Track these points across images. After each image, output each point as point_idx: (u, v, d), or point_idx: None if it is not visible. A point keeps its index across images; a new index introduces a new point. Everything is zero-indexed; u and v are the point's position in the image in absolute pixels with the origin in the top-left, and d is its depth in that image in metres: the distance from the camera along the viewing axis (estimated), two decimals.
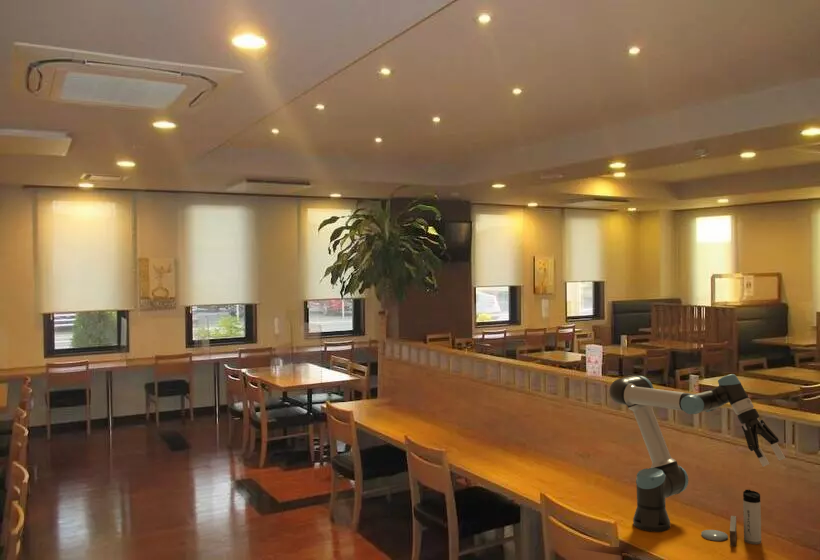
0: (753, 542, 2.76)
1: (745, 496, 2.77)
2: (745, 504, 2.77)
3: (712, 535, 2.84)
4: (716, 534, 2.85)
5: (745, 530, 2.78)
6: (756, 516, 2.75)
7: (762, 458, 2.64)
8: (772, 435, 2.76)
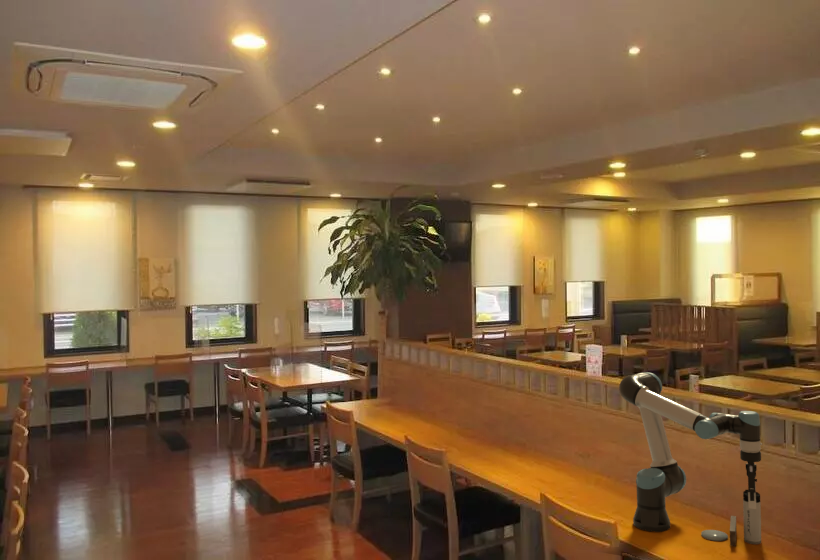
0: (753, 542, 2.76)
1: (745, 496, 2.77)
2: (745, 504, 2.77)
3: (712, 535, 2.84)
4: (716, 534, 2.85)
5: (745, 530, 2.78)
6: (756, 516, 2.75)
7: (752, 501, 2.72)
8: None
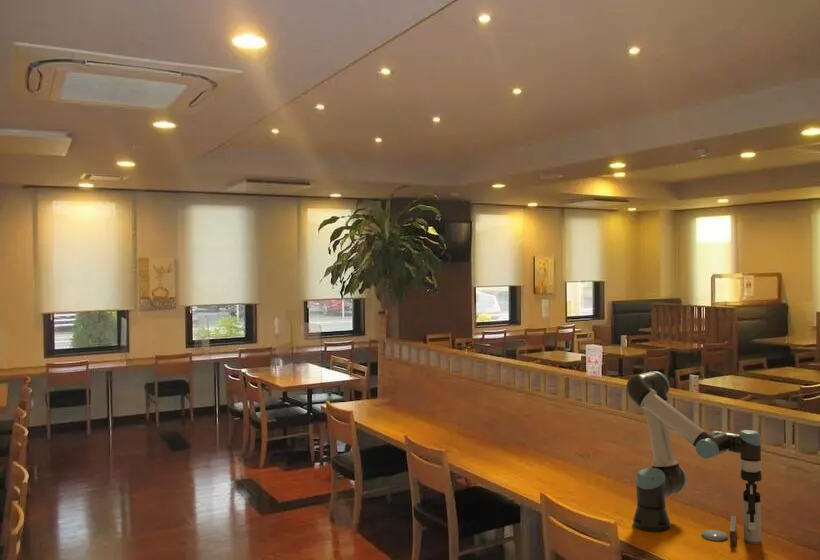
0: (753, 542, 2.76)
1: (745, 496, 2.77)
2: (745, 504, 2.77)
3: (712, 535, 2.84)
4: (716, 534, 2.85)
5: (745, 530, 2.78)
6: (756, 516, 2.75)
7: (752, 523, 2.75)
8: None
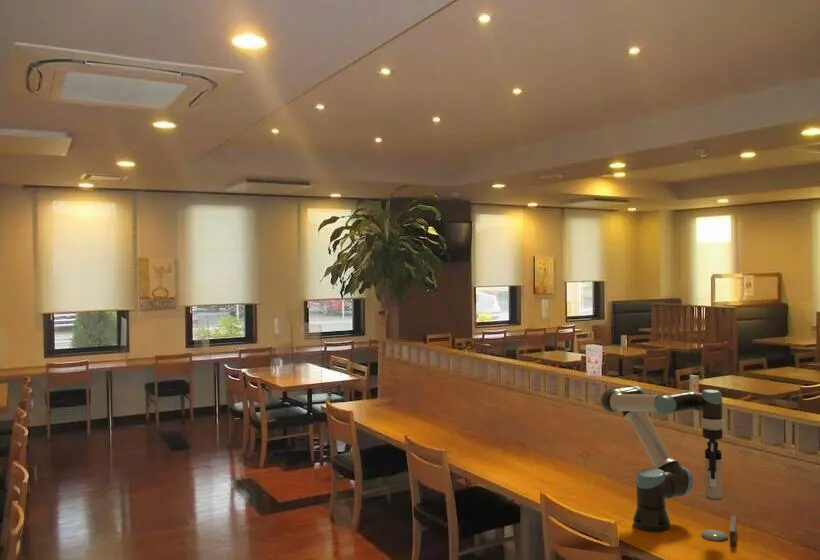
0: (714, 498, 2.82)
1: (707, 454, 2.83)
2: (706, 461, 2.83)
3: (712, 535, 2.84)
4: (716, 534, 2.85)
5: (706, 487, 2.84)
6: (717, 473, 2.81)
7: (713, 480, 2.81)
8: None
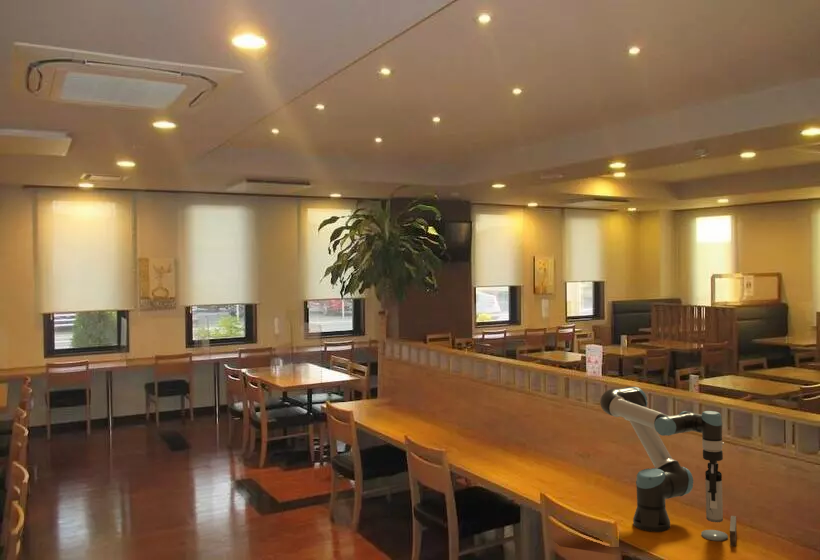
0: (715, 520, 2.82)
1: (707, 475, 2.83)
2: (707, 483, 2.83)
3: (712, 535, 2.84)
4: (716, 534, 2.85)
5: (707, 508, 2.84)
6: (717, 495, 2.81)
7: (713, 501, 2.81)
8: None
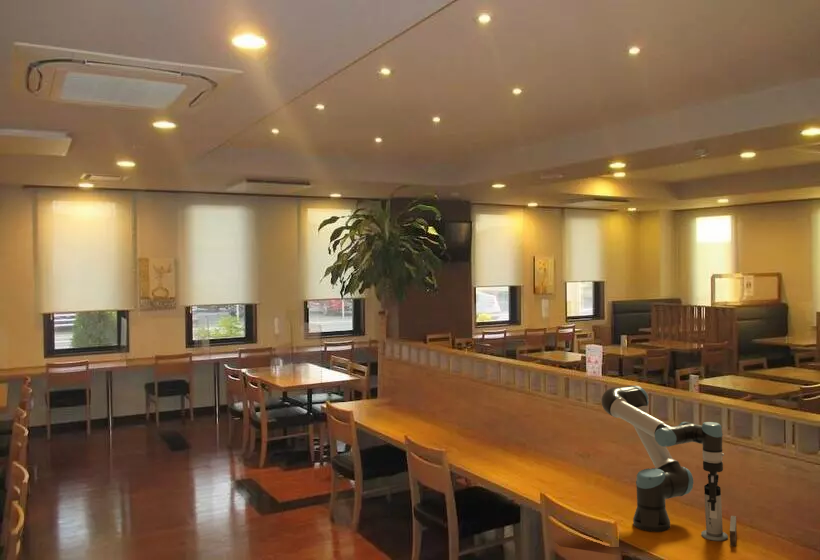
0: (714, 535, 2.82)
1: (706, 490, 2.84)
2: (706, 497, 2.84)
3: None
4: None
5: (707, 523, 2.84)
6: (717, 509, 2.82)
7: (713, 511, 2.78)
8: None
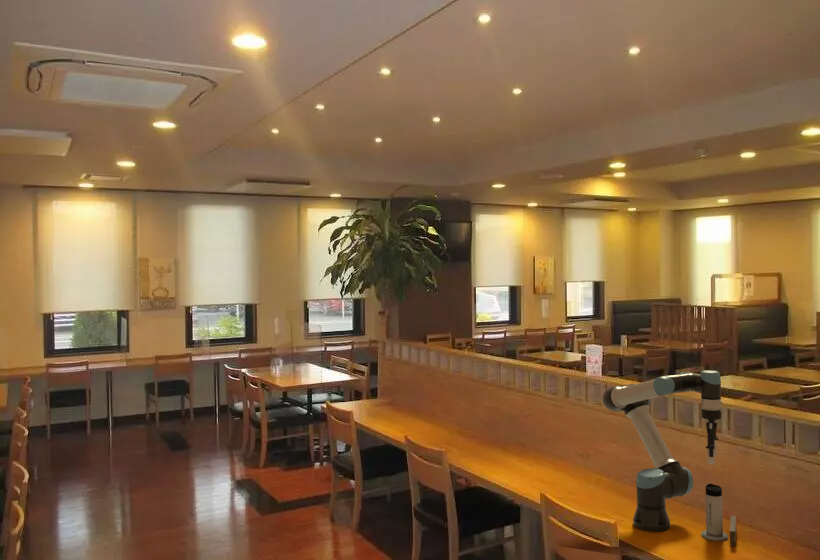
0: (714, 535, 2.82)
1: (707, 490, 2.84)
2: (707, 498, 2.84)
3: None
4: None
5: (707, 523, 2.84)
6: (717, 510, 2.81)
7: (711, 457, 2.78)
8: None
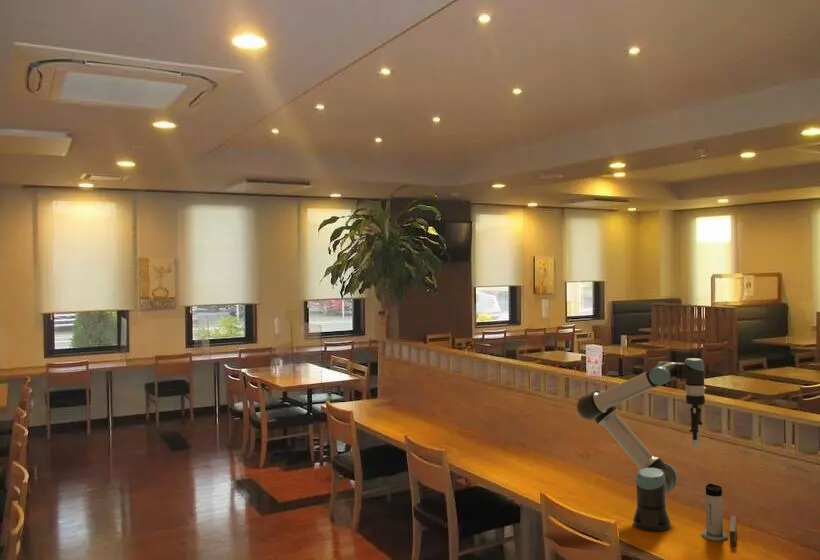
0: (714, 535, 2.82)
1: (707, 490, 2.84)
2: (707, 498, 2.84)
3: None
4: None
5: (707, 523, 2.84)
6: (717, 510, 2.81)
7: (695, 440, 2.92)
8: None
